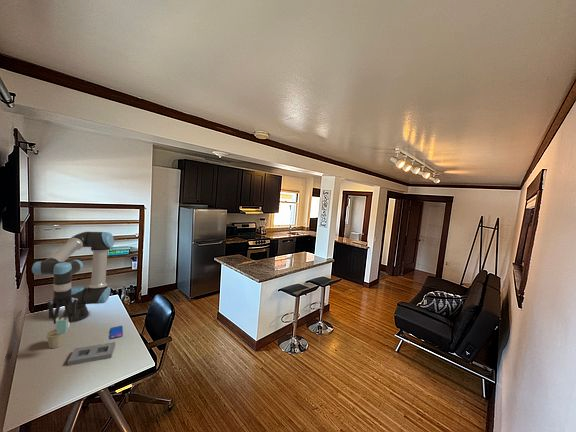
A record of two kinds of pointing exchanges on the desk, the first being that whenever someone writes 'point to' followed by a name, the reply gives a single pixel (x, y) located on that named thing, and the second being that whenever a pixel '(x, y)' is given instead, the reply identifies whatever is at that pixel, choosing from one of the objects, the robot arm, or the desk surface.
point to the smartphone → (116, 332)
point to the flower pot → (54, 338)
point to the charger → (61, 325)
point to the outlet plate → (91, 353)
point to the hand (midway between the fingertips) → (62, 327)
